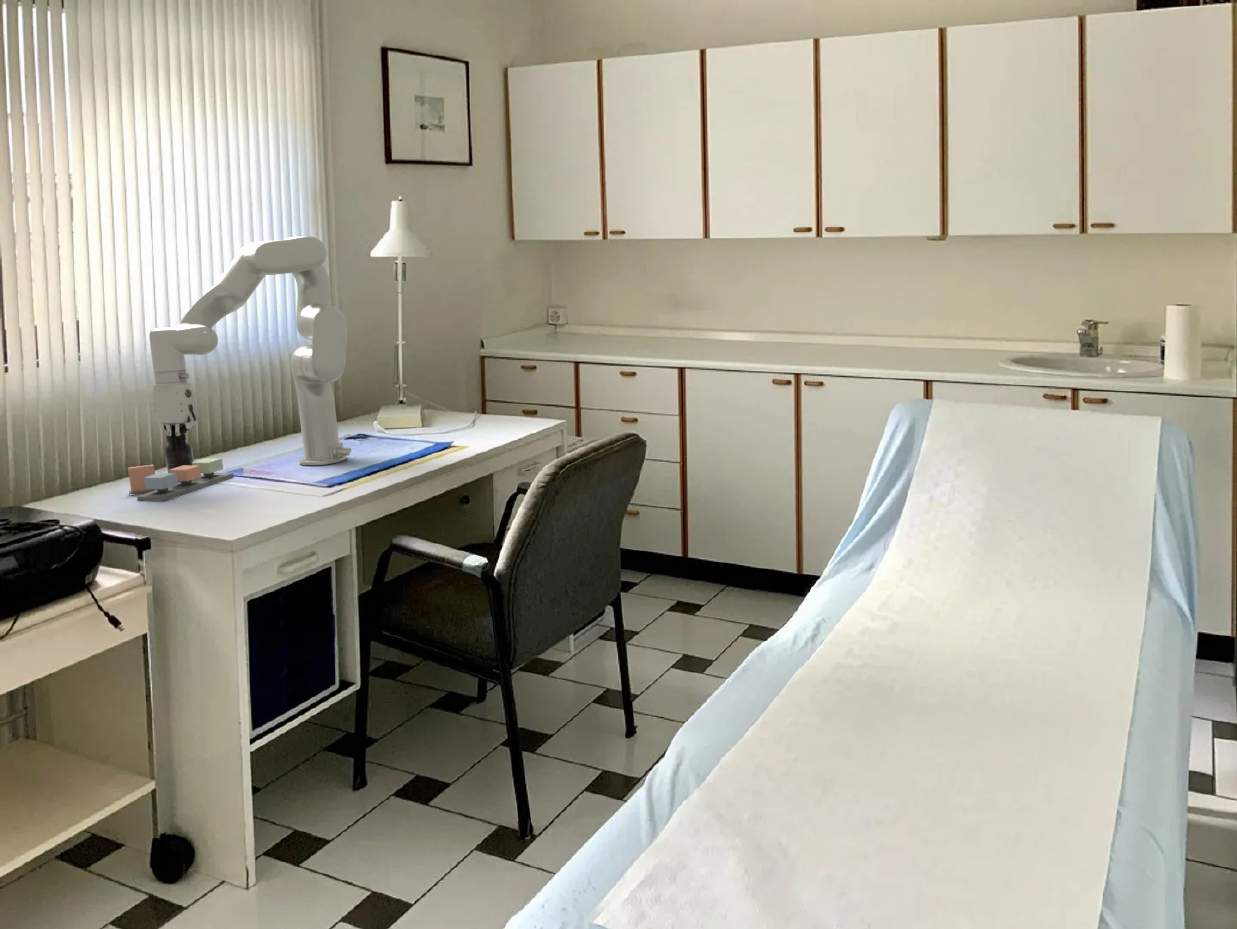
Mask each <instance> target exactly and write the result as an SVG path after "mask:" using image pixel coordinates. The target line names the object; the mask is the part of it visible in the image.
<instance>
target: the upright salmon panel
mask: <svg viewBox="0 0 1237 929" xmlns="http://www.w3.org/2000/svg"><path fill="white" fill-rule="evenodd" d="M127 471H128V472H127V473H128V477H129V485H130V490H129V492H128V493H129V494H139V495H143V494H146V493H149V492H152V491H155V490H157V489H146V485H145V477H148V476H151V475H154V474H156V472H155V471H156V470H155V466H154V464H149V465H148V464H147V465H141V466H139V465H138V466H131V467H127Z"/></svg>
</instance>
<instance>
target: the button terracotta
mask: <svg viewBox="0 0 1237 929" xmlns="http://www.w3.org/2000/svg"><path fill="white" fill-rule="evenodd" d="M169 473H176V474H177V481H178V482H181V484H186V483H191V482H192V479H195V478H198V477H201V475H202V473H201V472H200V466H192V465H183V466H179V467H176V468H173V469H170V470H169Z"/></svg>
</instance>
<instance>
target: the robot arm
mask: <svg viewBox="0 0 1237 929" xmlns="http://www.w3.org/2000/svg"><path fill="white" fill-rule="evenodd" d="M327 255H328V253H327V248H326V246H325V244H324V243H323V241H322V240H320V239H319V238H317V237H315V236H310V235H307V236H306V235H305V236H292V237H291V236H290V237H287V238H284V239H280V240H265V241H264V240H263V241H262V240H261V241H253V242H252V241H251V242H248V243H247V244H245V245H244V246H243V247H242V248H241V249H240V250H239V251H238V253H237V254H236V256H235V257H234V258H233V260H232V261H231V263H230V264H229V265H228V266H227V268H226V269H225V270H224V272H222V274H221V276H220V277H219V279H218V280H217V281H216V282H215V284H214V285H213V286H212V287H211V288H210V289H208V291H206V292H205V293H204V294H203V295H202V296H201V297H200V298H199V299H198V300H197V301H196V302H195V303H194V304H193V305H192V306H190V308H189V309H188V310H187V311H186V313H185V314H184V316H183V317H182V319H180V321H179V322H178V324H177V325H176V327H174V326H172V327H168V326H167V327H157V328H154V329H151V330H150V331H149V336H148V337H149V346H150V354H151V360H152V361H151V362H152V371H153V379H154V384H153V387H152V388H153V390H152V402H153V403H152V404H153V405H152V406H153V414H154V419H155V421H156V423H157V427H158V428H161V429H164V430H165V431H166V432H167V435H169V436H171V444H172V451H173V452H180V451H184V450H186V442H187V441H186V442H185V434H186V435H187V434H188V430H189V429H192V428H196V423H195V421H197V420H198V419H199V414H198V408H197V402H196V397H195V393H194V390H193V387H192V384H191V382H188V379H189V378H190V374H189V373H188V372H187V367H186V359H185V355H187V356H188V355H189V356H190V355H193V356H195V355H196V356H204V355H208V354H210V353H212V352H213V351H215V349H216V347H217V346H218V343H219V337H218V335H217V333H216V331H215V330H214V329H213V328H214V327H215V325H216V324H218V322H220V321H221V320H222V319H223V318H225V317H226V316H228V315H230V314H232V313H234V312H236V311H237V310H239V309H240V308H242V307H243V306H245V304H246V303H248V302H247V301H248V300H249V299H250V297H251V296H252V294H253V293H254V292H255V290H256V289H257V288H258V287H259V285H260V283H261V282H262V281H263V279H264V278H265V277H266V276H275V275H276V276H277V275H284V274H285V275H286V274H292V275H293V277H294V279H295V282H296V287H297V289H296V290H297V304H296V330H297V332H298V334H299V335H300V336H301V337H303V338H304V339H307V340H312V344H306V345H302V346H300V347H298V348H297V349H296V350H294V352H293V353H292V355H291V358H290V364H289V365H290V371H291V375H292V376H291V377H292V380H293V382H294V386H295V390H296V397H297V404H298V413H299V421H300V422H299V423H300V429H301V430H300V431H301V439H302V447H303V448H302V449H303V453H304V454H303V456H302V457H300V458H299V459H298V462H299V463H298V464H300V465H302V466H323V465H329V464H330V465H331V464H336V463H340V462H344V461H346V460H347V459H348V458H347V456H350V455H351V453H352V448H351V447H344V443H343V442H340V438H339V429H338V422H337V420H338V419H337V413H336V412H337V411H336V405H335V404H336V402H335V394H334V390H333V387H332V383H335V382H336V381H338V380H339V379H340V378H342V375H343V374H344V371H345V369H346V368H345V367H346V359H347V341H348V325H347V323H348V322H347V320H346V317H345V314H344V313H343V312H342V311H341V310H340V308H338V307H337V306H334V305H331V281H330V277H329V273H328V272H327V270H326V268H325V266H324V263H325V262H326V258H327V257H328V256H327Z"/></svg>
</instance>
